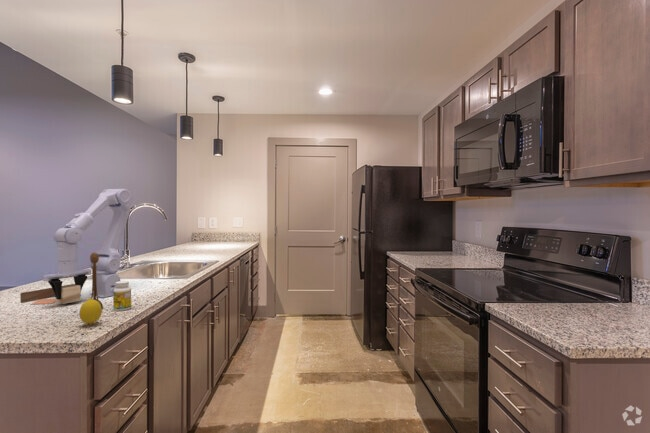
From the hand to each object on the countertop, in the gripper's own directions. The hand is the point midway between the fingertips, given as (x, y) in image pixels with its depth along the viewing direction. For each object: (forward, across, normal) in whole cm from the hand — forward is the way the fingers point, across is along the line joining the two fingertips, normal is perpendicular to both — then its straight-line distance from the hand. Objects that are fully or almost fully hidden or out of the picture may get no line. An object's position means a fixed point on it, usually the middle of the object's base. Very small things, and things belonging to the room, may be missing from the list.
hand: (68, 297), depth 123 cm
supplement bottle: (+3, -6, +23) cm, 24 cm away
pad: (+2, +3, -10) cm, 11 cm away
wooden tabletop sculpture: (+3, -1, +15) cm, 15 cm away
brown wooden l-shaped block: (+3, +2, -10) cm, 11 cm away
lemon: (+3, +8, +31) cm, 32 cm away
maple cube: (+1, 0, 0) cm, 1 cm away
